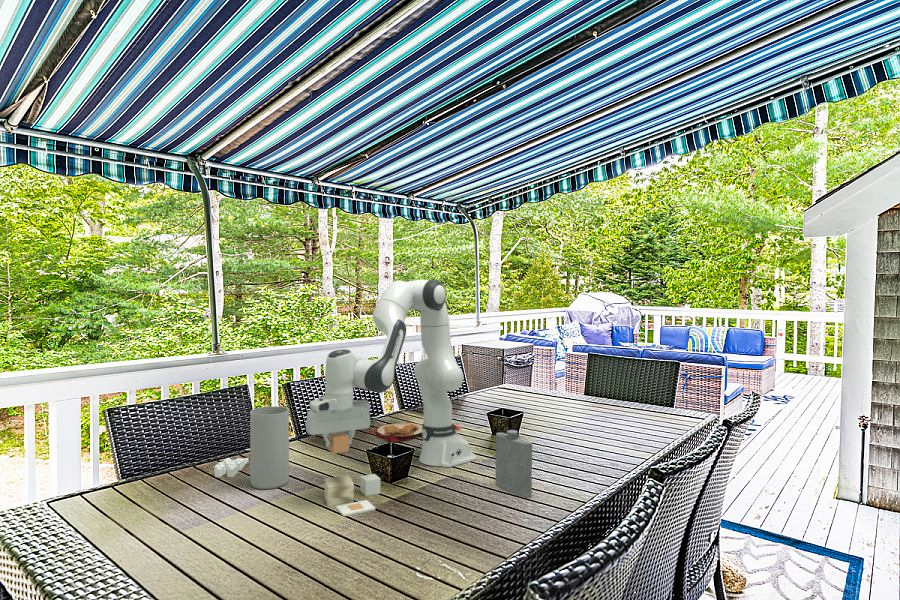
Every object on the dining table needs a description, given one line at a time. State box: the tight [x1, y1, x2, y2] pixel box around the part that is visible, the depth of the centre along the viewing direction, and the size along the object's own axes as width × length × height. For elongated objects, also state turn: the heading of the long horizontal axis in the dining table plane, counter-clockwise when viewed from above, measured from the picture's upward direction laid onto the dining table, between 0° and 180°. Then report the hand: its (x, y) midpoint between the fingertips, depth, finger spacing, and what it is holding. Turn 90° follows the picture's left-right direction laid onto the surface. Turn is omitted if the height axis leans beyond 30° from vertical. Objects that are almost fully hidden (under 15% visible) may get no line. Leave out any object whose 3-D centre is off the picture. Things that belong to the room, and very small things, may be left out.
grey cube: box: [359, 473, 381, 497], centre depth 182 cm, size 5×5×5 cm
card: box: [335, 499, 376, 517], centre depth 168 cm, size 10×7×1 cm
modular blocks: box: [213, 457, 250, 478], centre depth 205 cm, size 20×7×4 cm, turn 1°
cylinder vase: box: [249, 406, 290, 490], centre depth 189 cm, size 12×12×25 cm
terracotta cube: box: [328, 432, 350, 455], centre depth 175 cm, size 5×5×5 cm
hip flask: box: [495, 429, 533, 499], centre depth 185 cm, size 16×4×20 cm, turn 37°
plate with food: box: [367, 421, 423, 443], centre depth 255 cm, size 25×26×4 cm
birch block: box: [324, 475, 355, 507], centre depth 176 cm, size 8×8×6 cm
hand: (338, 445), depth 175 cm, fingers closed on terracotta cube, 5 cm apart
